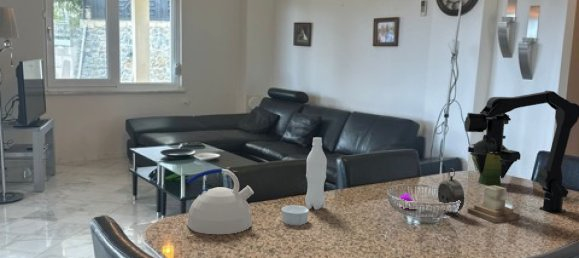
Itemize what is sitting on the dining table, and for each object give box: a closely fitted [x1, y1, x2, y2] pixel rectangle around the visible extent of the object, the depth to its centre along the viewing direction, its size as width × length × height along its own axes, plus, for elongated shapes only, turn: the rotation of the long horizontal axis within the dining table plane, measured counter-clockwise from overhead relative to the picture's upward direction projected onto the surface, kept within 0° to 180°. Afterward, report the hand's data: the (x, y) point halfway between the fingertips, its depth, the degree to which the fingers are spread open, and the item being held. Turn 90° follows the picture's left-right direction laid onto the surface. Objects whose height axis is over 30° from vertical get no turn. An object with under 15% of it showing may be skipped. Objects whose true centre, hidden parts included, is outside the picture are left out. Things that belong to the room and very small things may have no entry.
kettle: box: [186, 168, 255, 236], centre depth 169 cm, size 20×21×18 cm
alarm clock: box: [437, 167, 465, 218], centre depth 188 cm, size 11×5×16 cm, turn 14°
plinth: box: [467, 203, 521, 224], centre depth 188 cm, size 12×12×3 cm
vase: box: [471, 114, 510, 186], centre depth 233 cm, size 16×16×30 cm
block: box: [482, 185, 507, 210], centre depth 187 cm, size 5×5×7 cm
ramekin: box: [281, 205, 310, 226], centre depth 175 cm, size 9×9×4 cm
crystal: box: [398, 192, 414, 201], centre depth 195 cm, size 5×5×5 cm
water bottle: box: [304, 136, 328, 211], centre depth 189 cm, size 7×7×25 cm
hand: (491, 175), depth 195 cm, fingers open, 9 cm apart
